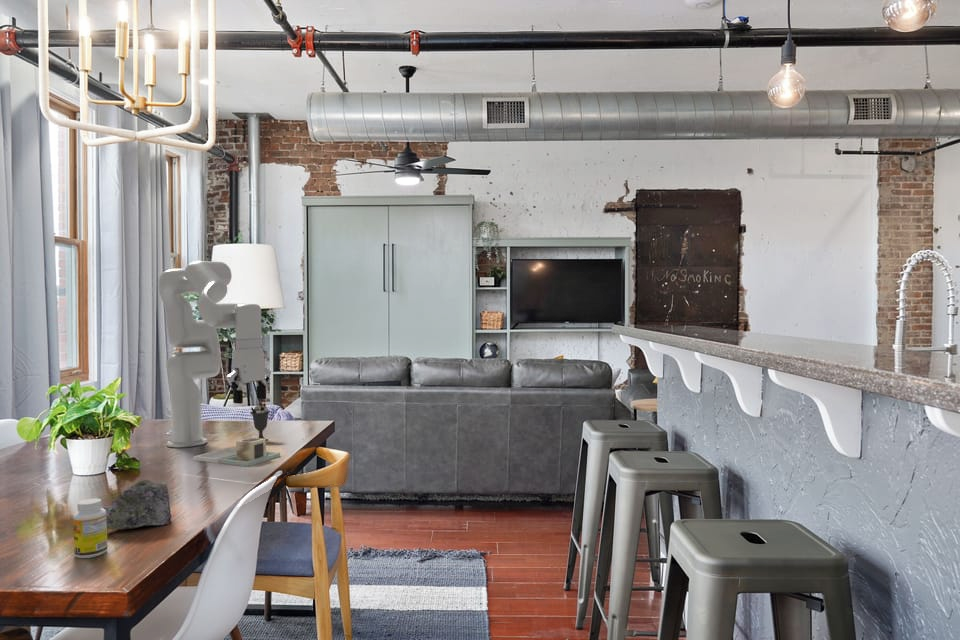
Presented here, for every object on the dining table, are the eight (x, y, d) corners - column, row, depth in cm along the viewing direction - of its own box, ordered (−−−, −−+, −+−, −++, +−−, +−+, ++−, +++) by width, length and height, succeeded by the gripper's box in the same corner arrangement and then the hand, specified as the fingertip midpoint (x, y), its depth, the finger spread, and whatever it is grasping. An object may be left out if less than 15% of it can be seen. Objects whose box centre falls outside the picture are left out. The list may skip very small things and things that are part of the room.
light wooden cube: (236, 460, 204) (236, 440, 204) (251, 456, 210) (250, 437, 210) (252, 462, 202) (251, 442, 202) (266, 458, 207) (266, 438, 207)
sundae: (274, 438, 240) (273, 396, 239) (266, 442, 233) (265, 399, 233) (256, 438, 241) (255, 396, 240) (247, 442, 234) (246, 399, 233)
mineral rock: (94, 535, 141) (93, 487, 141) (120, 519, 152) (119, 474, 151) (157, 534, 141) (156, 486, 141) (179, 517, 152) (177, 473, 152)
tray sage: (221, 464, 202) (221, 459, 202) (255, 454, 214) (255, 450, 214) (247, 467, 197) (246, 462, 197) (280, 457, 210) (280, 452, 210)
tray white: (193, 461, 207) (193, 456, 207) (228, 451, 219) (228, 447, 219) (217, 464, 202) (217, 459, 202) (251, 454, 215) (251, 449, 215)
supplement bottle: (76, 551, 131) (74, 499, 131) (108, 547, 134) (107, 495, 133) (72, 561, 126) (70, 507, 126) (106, 556, 129) (104, 503, 128)
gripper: (259, 342, 214) (261, 396, 215) (217, 346, 199) (218, 404, 199) (278, 343, 211) (279, 397, 212) (236, 346, 196) (238, 405, 196)
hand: (250, 401), depth 205 cm, fingers open, 9 cm apart
